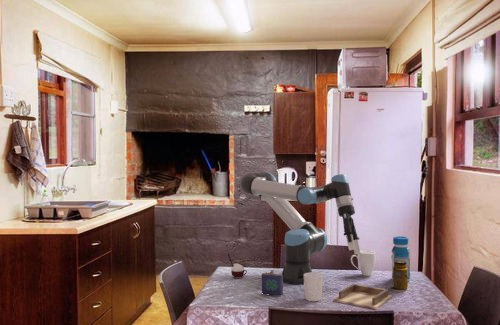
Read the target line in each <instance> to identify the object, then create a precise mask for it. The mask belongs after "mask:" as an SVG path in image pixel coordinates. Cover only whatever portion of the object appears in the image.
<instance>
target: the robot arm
mask: <svg viewBox="0 0 500 325" xmlns="http://www.w3.org/2000/svg"><path fill="white" fill-rule="evenodd" d="M239 187H240V190H241V191H242V193H243V194H246V195H249V196H255V197H256V196H257V197H259V199H261V201H265V202H267V204H268V205H269V206H270V207H271V209H273V211H274V212H275V213H276V215H278V217H279V218H280V219H281V220H282V221H283V222H284V223H285V225H286V226H287V227H288V228H289V230H288V231H286V232H285V234H284V241H283V242H284V266H283V270H282V273H281V274H282V275H283V281H284V282H283V283H286V282H287V284H290V283H291V285H304V274H305V273H310V272H313V270H312V268H311V264H310V261H311V259H310V256H311V255H313V254H318V253H320V252H321V251H323V250H324V249H325V248H326V247H327V244H328V237H327V234H326V232H325V231H324V230H323V229H322V228H320V227H316V226H315V225H314V224H313V222H311V221H306V220H305V218H304V217H303V216H302V215H301V214H300V213H299V212H298V211H297V210H296V208H295V207H294V206H293V205H292V204H291V202H290V201H294V202H298V203H301V204H302V205H312V204H317V205H318V204H322V203H325V202H327V201H331V200H333V199H335V203H336V204H335V205H336V207H337V213H338V217H342V222H343V232H344V233H343V236H345V238H346V243H347V246H348V247H347V248H348V251H353V253H354V255H356V256H357V255H358V254H361V252H360V251H361V248H360V247H361V246H360V243H359V241H360V237H358V234H357V229H356V226H355V223H354V218H353V217H352V216H353V215H355V214H356V210H355V206H354V202H353V201H354V197H352V194H351V189H350V183H349V179H348V177H347V175H346V174H343V173H342V174H341V173H340V174H335V175H333V176H332V177H331V182H329V183H327V184H324V185H321V186H313V187H311V186H310V187H308V186H302V185H299V184H298V185H297V184H290V183H284V182H278V181H277V179H276V177H275V175H273V173H271V172H266V171H261V172H248V173H246V174H244V175H243V176H242V177H241V179H240V181H239ZM288 200H290V201H288Z"/></svg>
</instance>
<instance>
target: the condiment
mask: <svg viewBox="0 0 500 325" xmlns="http://www.w3.org/2000/svg"><path fill="white" fill-rule="evenodd" d="M406 264H407V263H406V261H401V260H397V261H394V267H393V279H392V281H393V282H392V284H393V285H392V286H388V287H386V289H387V290H392V291H395V292H398V293H401V292H405V291H409V290H412V288H411V287H408V284H409V283H408V282H409V281H408V275H407V274H408V270H407V265H406Z"/></svg>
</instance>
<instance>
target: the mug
mask: <svg viewBox="0 0 500 325" xmlns="http://www.w3.org/2000/svg"><path fill="white" fill-rule="evenodd" d="M360 252H361V254H356V255H355V254H352V255H351V257H350V262H351V264H352V266H353V267H355V268H356V269H357V270H358V271H360V272H361V275H362V276H365V277H371V276H372V274H373V272H374V269H375V265H376V252H375V251H373V250H370V249H368V250H367V249H362V250H361V249H360ZM354 257H356V259H357V263H358V267H359V268H358V267H357V266H356V265H355V263H354V262H353V258H354Z"/></svg>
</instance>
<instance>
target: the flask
mask: <svg viewBox="0 0 500 325" xmlns="http://www.w3.org/2000/svg"><path fill="white" fill-rule="evenodd" d="M274 271H275V270H274V269H270V272H267V271H266V272H262V274H261V294H262V293H263V294H269V295H284V282H283V275H282V273H274Z"/></svg>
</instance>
